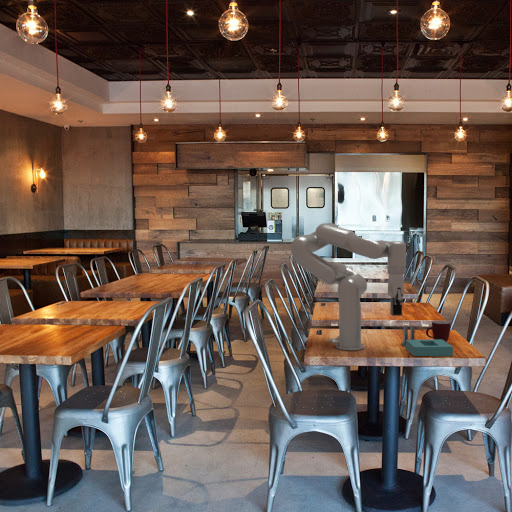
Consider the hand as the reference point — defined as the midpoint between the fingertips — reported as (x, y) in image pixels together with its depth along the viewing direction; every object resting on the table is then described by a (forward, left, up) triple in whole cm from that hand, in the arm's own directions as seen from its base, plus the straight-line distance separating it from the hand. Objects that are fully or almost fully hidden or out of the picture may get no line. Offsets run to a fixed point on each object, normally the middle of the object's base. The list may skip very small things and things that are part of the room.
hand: (396, 312), depth 247 cm
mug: (+23, +16, -17) cm, 33 cm away
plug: (0, 0, -1) cm, 1 cm away
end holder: (+14, 0, -17) cm, 22 cm away
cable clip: (+9, +13, -17) cm, 23 cm away
